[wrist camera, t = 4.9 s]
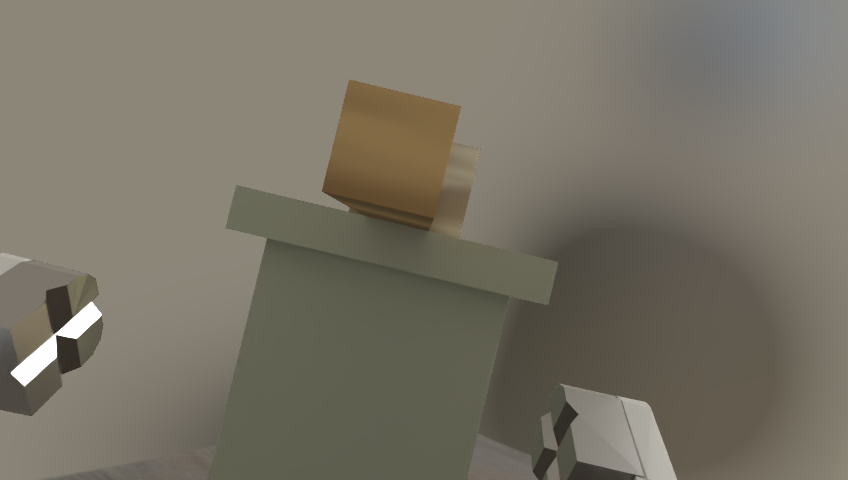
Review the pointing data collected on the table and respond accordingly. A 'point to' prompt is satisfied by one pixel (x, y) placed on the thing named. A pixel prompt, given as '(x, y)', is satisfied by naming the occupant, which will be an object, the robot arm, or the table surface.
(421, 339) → the pedestal stand
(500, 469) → the table surface
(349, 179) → the wooden hammer
